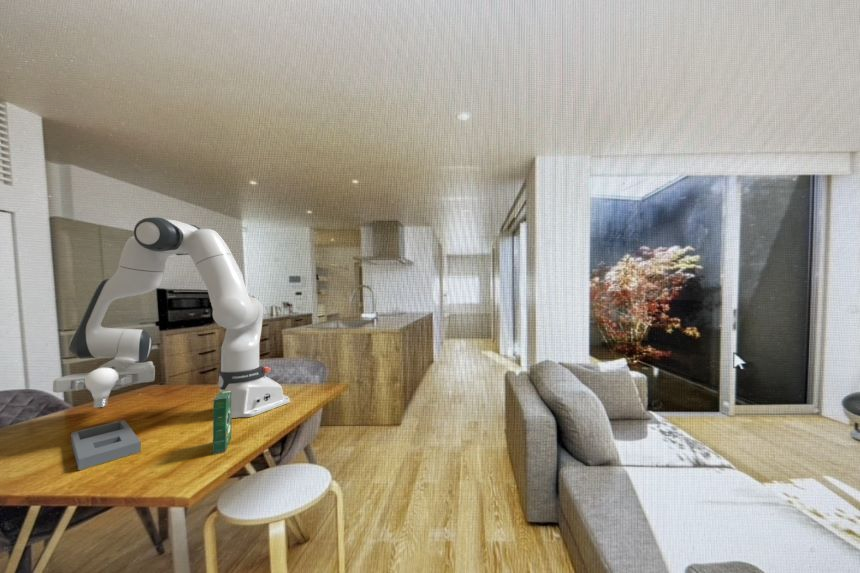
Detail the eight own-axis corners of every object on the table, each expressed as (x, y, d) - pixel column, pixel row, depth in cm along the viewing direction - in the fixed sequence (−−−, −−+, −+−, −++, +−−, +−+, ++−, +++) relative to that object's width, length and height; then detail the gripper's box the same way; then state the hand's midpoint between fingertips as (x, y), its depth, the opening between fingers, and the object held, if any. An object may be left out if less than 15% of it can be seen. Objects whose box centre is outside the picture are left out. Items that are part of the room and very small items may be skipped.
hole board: (124, 428, 88) (124, 419, 88) (140, 451, 74) (141, 441, 74) (71, 441, 80) (71, 432, 80) (78, 471, 66) (78, 459, 66)
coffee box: (219, 440, 79) (219, 390, 79) (232, 438, 80) (232, 389, 80) (211, 455, 71) (212, 399, 72) (225, 452, 72) (226, 397, 73)
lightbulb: (116, 402, 86) (118, 364, 86) (118, 407, 82) (120, 367, 82) (82, 408, 81) (84, 368, 81) (83, 414, 77) (85, 371, 77)
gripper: (65, 368, 86) (41, 379, 75) (159, 360, 98) (150, 368, 87) (63, 390, 86) (39, 404, 75) (158, 379, 98) (149, 389, 86)
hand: (100, 384), depth 81 cm, fingers closed on lightbulb, 6 cm apart
